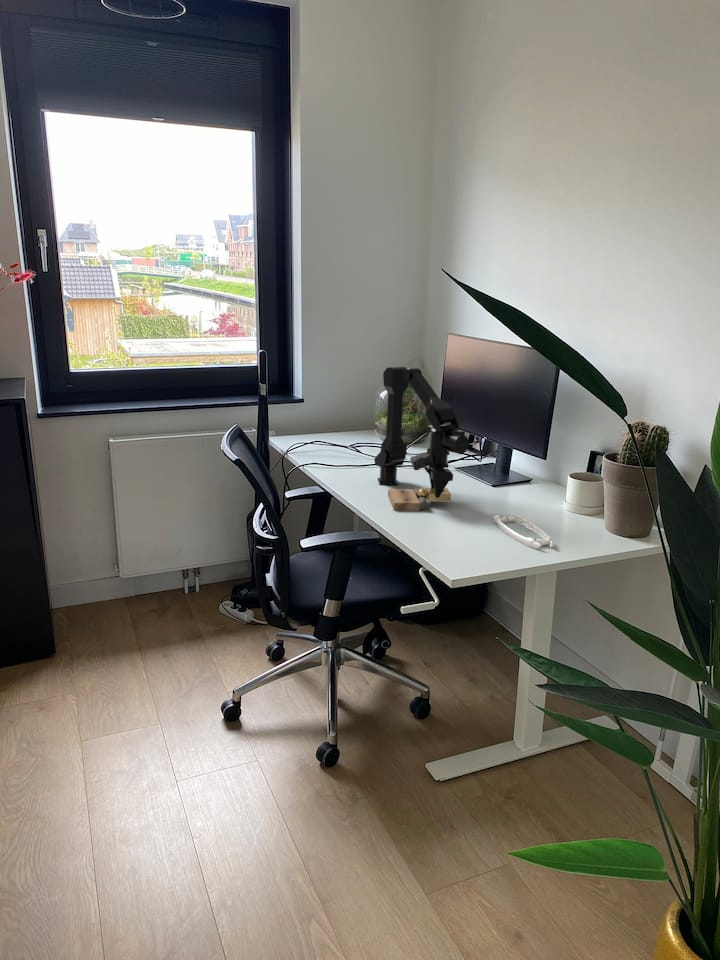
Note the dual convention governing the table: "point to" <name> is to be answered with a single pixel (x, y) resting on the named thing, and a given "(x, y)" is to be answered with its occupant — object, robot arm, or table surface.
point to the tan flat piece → (407, 499)
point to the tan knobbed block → (430, 494)
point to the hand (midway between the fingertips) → (435, 494)
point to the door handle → (527, 541)
